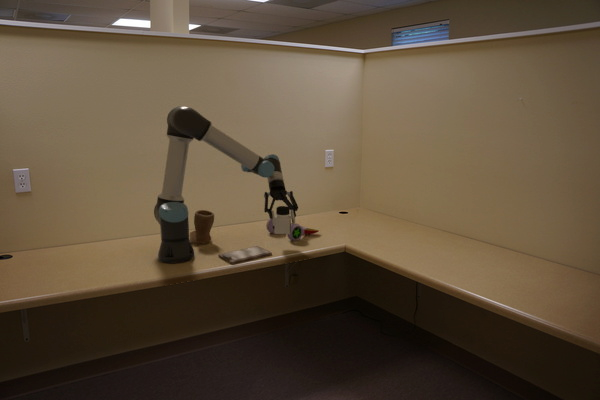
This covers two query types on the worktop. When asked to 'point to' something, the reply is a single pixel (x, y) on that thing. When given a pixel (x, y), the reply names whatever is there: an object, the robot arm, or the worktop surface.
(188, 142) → the robot arm
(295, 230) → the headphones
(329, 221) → the worktop surface
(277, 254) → the worktop surface
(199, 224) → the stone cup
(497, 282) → the worktop surface
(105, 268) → the worktop surface
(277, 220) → the medicine bottle
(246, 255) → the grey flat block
